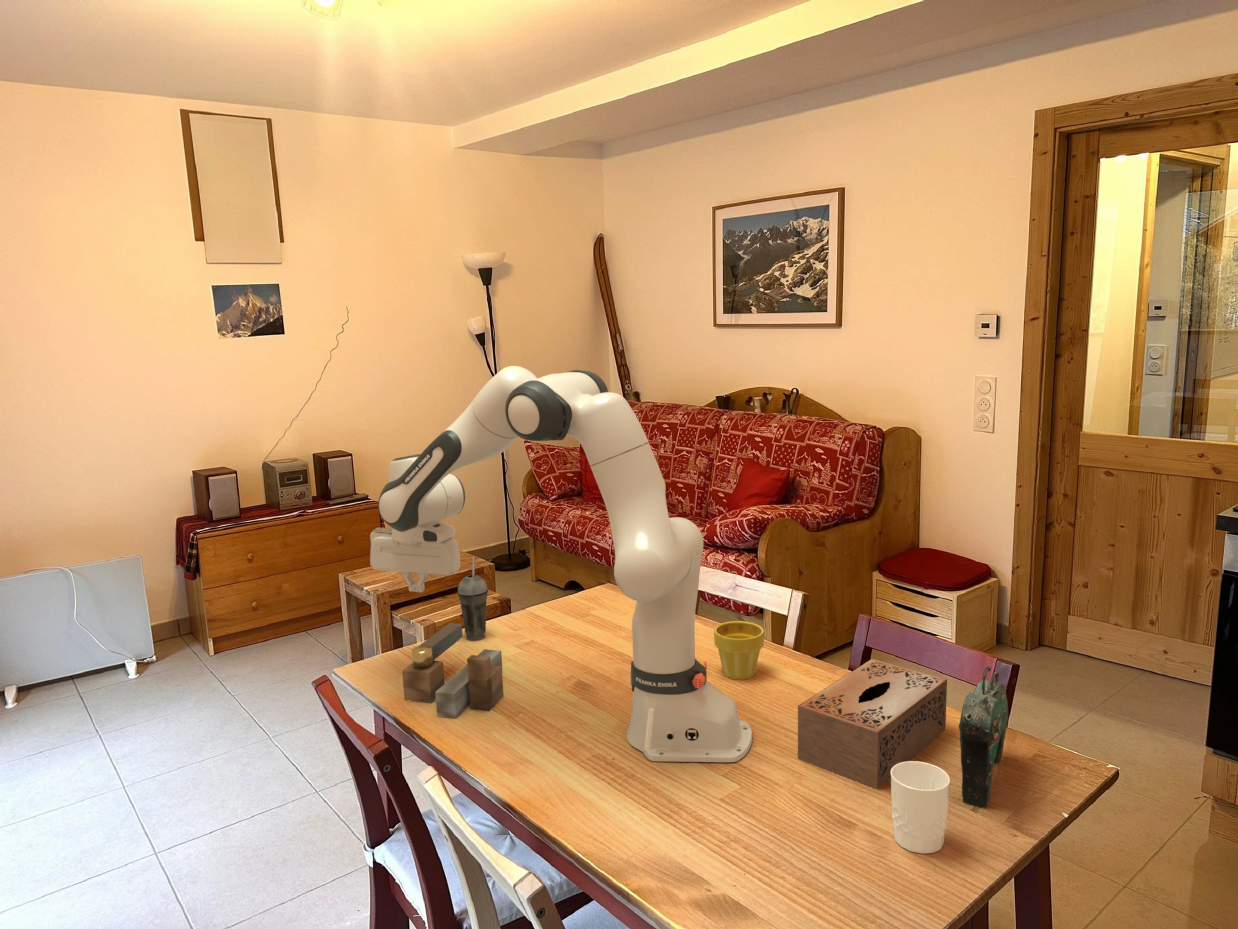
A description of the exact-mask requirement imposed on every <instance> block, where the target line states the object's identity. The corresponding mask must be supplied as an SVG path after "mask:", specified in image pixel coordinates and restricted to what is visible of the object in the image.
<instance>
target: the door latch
mask: <svg viewBox="0 0 1238 929" xmlns="http://www.w3.org/2000/svg"><path fill="white" fill-rule="evenodd" d="M502 656H503V655H502V650H497V649H482V651H481V652H479V653H478V654H477V655H476V654H475V655H474V654H470V656H469V657H468V658H466V664H465V666H463V668H461V669H460V670H459V671H458V672H456V674H455V675H453V676H452V677H451V678H449V680H448V681H445V680H446V678H445V669H444V668H445V667H444V661H442V660H441V661H440V660H434V661H433V663H432V664H431V665H429V666H426V667H415V666H413V662H412V663H410V664H409V665H408V666H406V667H405V668H404V669H403V670H401V672H402V685H403V693H404V694H403V698H404V701H405V700H411V701H410V702H414V701H416V703H423V702H424V703H423V704H425V703H426V704H432V703H433V702H434V701H435V706H436V716H439V717H440V718H446V719H447V718H448V719H457V718H458V717H459V716H460V715H461V714H462V713H463V712H464V711H465V710H466V709H467V708H468V707H469V710H472V711H473V710H475V711H482V712H490V711H491V710H492V709H493V708H494V707H495V706H496V705H497V703H498V702H500V701H501V699H502V698H503V697H504V682H503V681H504V680H503V661H502V660H503V658H502ZM435 699H436V700H435ZM439 717H438V718H439Z"/></svg>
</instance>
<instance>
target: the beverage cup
mask: <svg viewBox="0 0 1238 929" xmlns="http://www.w3.org/2000/svg"><path fill="white" fill-rule="evenodd" d="M475 559H476V558H475V555H473V556H472V568H471V570H472V572H471V574H469V575H466V576H464V577H463V578H461V580H460V582H459V584H458V587H457V596H458V600H459V603H460V608H461V615H462V620H463V627H464V633H465V636H466V640H467V641H470V642H477V641H481V640H484V639H485V637H486V631H487V630H486V629H487V627H486V626H487V599H488V592H489V588H488V586H487V583H486V581H485V580H484V578H483V577H481V576H480V575H477V574H475V573H476V572H475V568H476V565H475V563H476V562H475V561H476V560H475Z"/></svg>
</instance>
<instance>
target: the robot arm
mask: <svg viewBox="0 0 1238 929" xmlns="http://www.w3.org/2000/svg"><path fill="white" fill-rule="evenodd" d="M566 436H570V437H572V438H574V439H575V440H577V441H578V442H579V444H580V446H581V447H582V449H583V452H584V453H585V458H587V462H588V464H589V466H590V469H591V471H592V474H593V477H594V479H595V481H596V484H597V486H598V489H599V492H600V494H601V497H602V499H603V502H604V505H605V509H606V511H607V515H608V521H609V525H610V532H611V536H612V542H613V549H614V567H613V576H614V580H615V583H616V585H617V587H618V589H619V590H620V591H621V592H622V593H623V594H624V595H625V596H626V597H628V598H629V599H631V600H633V601H636V604H635V609H634V612H633V614H632V620H631V631H632V633H631V636H632V661H631V662H630V670H629V671H630V672H629V673H630V686H631V692H632V705H631V711H630V712H631V713H630V718H629V723H628V724H629V725H628V726H627V727H628V728H627V731H626V739H627V741H628V742H629V744H630V745H631V746H633V747H634V748H635V749H637V750H639V751H640V752H642V753H643V754H644V756H645V757H646V758H647V759H648V760H649V761H652V762H675V763H676V762H677V763H678V762H682V763H684V762H685V763H686V762H687V763H688V762H689V763H690V762H691V763H696V762H697V763H736V762H738V761H740V760H742V759H743V758H744V757H745V756H746V755H747V754H748V752H749V751H750V748H751V746H752V743H753V733H752V729H751V726H750V724H748V722H747V721H745V720H741V719H740V717H739V713H738V709H737V705H736V703H735V701H734V700H733V698H731V697H730V696H729V695H727V694H726V693H724V692H723V691H722V690H720V689H719V688H717V687H716V686H715V685H714V684H712V683H711V682H709V681H708V680H707V678H708V677H707V676H708V675H707V669H708V668H707V664H708V663H707V661H704V663H703V664H702V663H700V662H699V661H698V659H696V653H695V652H696V651H695V650H696V649H695V648H696V646H695V645H696V642H695V641H696V640H695V622H696V621H695V619H696V618H695V616H696V607H697V601H698V592H699V584H700V574H701V562H702V555H703V551H704V538H703V534H702V532H701V530H700V529H699V527H698V526H697V525H696V524H695V523H694V522H693V521H691V520H689V519H687V518H685V517H677V516H676V517H675V516H673V517H670V515H669V511H668V504H667V498H666V496H667V495H666V489H667V488H666V487H667V486H666V481H665V479H664V477H663V473H662V472H661V469H660V466H659V465H658V462H657V459H656V457H655V454H654V452H653V450H652V447H651V445H650V443H649V440H648V437H647V435H646V433H645V431H644V428H643V426H642V424H641V423H640V421H639V419H638V417H637V416H636V414H635V412H634V410H633V409H632V407H631V406H630V404H629V403H628V401H627V400H626V398H625V397H623V395H621V394H620V393H616V392H611V391H610V392H609V389H608V387H607V385H606V383H605V380H603V379H602V377H600V376H599V375H598V374H596V373H595V372H592V371H588V370H581V369H574V370H569V371H567V372H560V373H550V374H547V375H544V376H541V377H537V376H536V374H534V373H533V372H532V371H530V370H529V369H527V368H525V367H522V366H519V365H510V366H505V367H504V368H502V369H500V370H499V371H498V372H497V373H496V374H495V375H493V377H492V378H490V379H489V380H488V381H487V382H486V383H485V385H484V386H483V387H482V388H481V389H480V390H479V391H478V393H477V394H476V395H475V396H474V398H473V400H471V402H470V403H469V405H467V407H466V408H465V410H464V411H463V412H462V413H461V414H460V415H459V416H458V417H457V418H456V419H455V420H454V421H453V422H452V423H451V424H450V425H449V426H448V427H447V428H446V429H445V430H444V431H442V432H441V433H440V434H439V435H438V436H437V437H436V438H435V439H434V440H432V441H431V443H429V445H428V446H426V447H425V449H424V450H423V451H422V452H421V453H420V454H419V453H418V454H411V455H406V456H401V457H400V456H399V457H395V458H394V459H393V460H391V461H390V464H389V467H388V475H387V481H388V482H387V483H386V484H385V485H384V487H383V488H382V490H381V492H380V495H379V497H378V502H377V509H378V512H379V516H380V518H381V519H382V520H383V522H384V523H385V524H386V525H387V526H388V527H376V528H375V529H373V530H372V531H371V532H370V535H369V538H370V554H369V556H370V557H369V561H370V562H369V564H370V567H371V568H372V569H373V571H374V570H375V571H383V572H384V571H386V572H400V573H401V572H402V578H403V579H404V580H405V582H406V584H407V585H408V591H409V592H411V593H412V592H414V593H423V592H424V591H425V586H426V585H425V583H426V581H427V578H428V577H429V575H430V574H431V575H446V576H452V575H454V574H455V573H457V572H458V571H459V570H460V569H461V553H460V549H459V544H458V541H457V540H456V539H455V538H454V536H455V535H456V528H455V527H454V525H451V524H449V523H446V522H443V521H444V520H447V519H450V518H452V517H454V516H456V515H459V514H460V513H461V512H462V510H463V509H464V506H465V504H466V491H465V488H464V485H463V482H462V481H461V480H460V479H459V477H458V476H456V475H455V474H454V473H453V472H455V471H457V470H459V469H461V468H463V467H467V466H469V465H472V464H475V463H479V462H482V461H486V460H489V459H491V458H495V457H497V456H499V455H501V454H502V453H503V452H505V451H506V450H508V449H509V448H510V447H511V446H513V444H514V443H515V442H516V441H517V440H518V438H521V439H523V440H525V441H530V442H531V441H533V442H548V441H563V440H565V437H566ZM441 520H443V521H441ZM415 573H416V574H417V577H418V578H419V581H415V579H414V577H413V575H414V574H415Z"/></svg>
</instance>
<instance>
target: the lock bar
mask: <svg viewBox="0 0 1238 929" xmlns="http://www.w3.org/2000/svg"><path fill="white" fill-rule="evenodd" d="M463 636H464V635H463V624H462V623H456V622H455V623H453V622H449V623H448V624H446V625H445V626H444V627H443V628H441V629H440V630H438V631H437V632H436V633H434V634H433V635H432V636H430V637H428V639H426V640H425V641H424V642H422V643H421V644H420V645H418V646H415V647H413V648H412V649H411V660H412V661H411V662H412V663H413V666H415V667H426V666H429V665H431V664H432V663H433V661H436V659H437V658H438V657H440V656H441V655H442V654H443V653H445V652H446V651H447V650H448V649H450V648H451V647H452V646H453V645H455V644H456V643H457V642H459V641H460V640H461V639H463Z"/></svg>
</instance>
